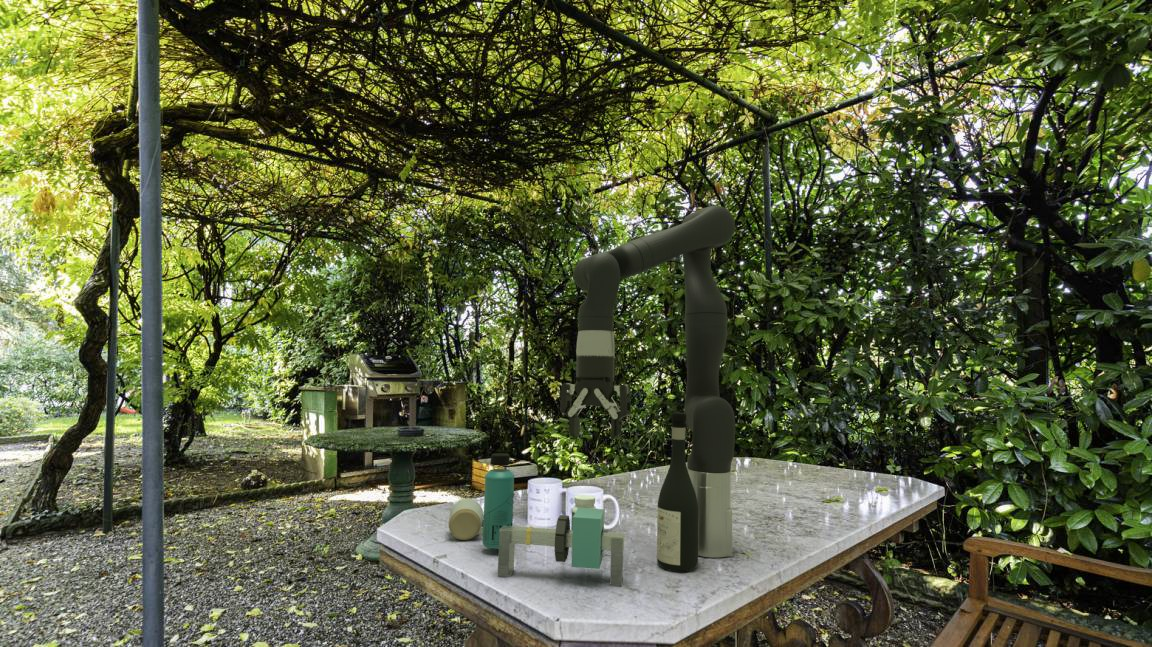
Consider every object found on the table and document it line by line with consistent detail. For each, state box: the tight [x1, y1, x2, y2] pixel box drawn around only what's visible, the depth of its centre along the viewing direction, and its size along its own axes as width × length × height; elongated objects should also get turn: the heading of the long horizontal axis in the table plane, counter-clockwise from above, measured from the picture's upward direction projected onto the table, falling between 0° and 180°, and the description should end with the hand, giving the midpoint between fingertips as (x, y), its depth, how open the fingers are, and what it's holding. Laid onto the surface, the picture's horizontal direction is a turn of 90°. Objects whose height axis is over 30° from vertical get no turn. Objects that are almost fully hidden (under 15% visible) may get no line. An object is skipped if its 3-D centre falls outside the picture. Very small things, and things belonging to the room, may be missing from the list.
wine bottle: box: [656, 412, 699, 573], centre depth 112 cm, size 8×8×30 cm
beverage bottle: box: [481, 452, 516, 549], centre depth 118 cm, size 6×7×20 cm
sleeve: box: [571, 508, 605, 570], centre depth 103 cm, size 5×7×9 cm
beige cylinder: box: [448, 498, 484, 541], centre depth 127 cm, size 11×8×8 cm
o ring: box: [554, 514, 571, 563], centre depth 103 cm, size 2×8×8 cm, turn 172°
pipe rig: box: [497, 525, 625, 587], centre depth 103 cm, size 23×4×8 cm, turn 82°
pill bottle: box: [570, 494, 597, 530], centre depth 125 cm, size 6×6×10 cm
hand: (594, 437), depth 110 cm, fingers open, 8 cm apart
